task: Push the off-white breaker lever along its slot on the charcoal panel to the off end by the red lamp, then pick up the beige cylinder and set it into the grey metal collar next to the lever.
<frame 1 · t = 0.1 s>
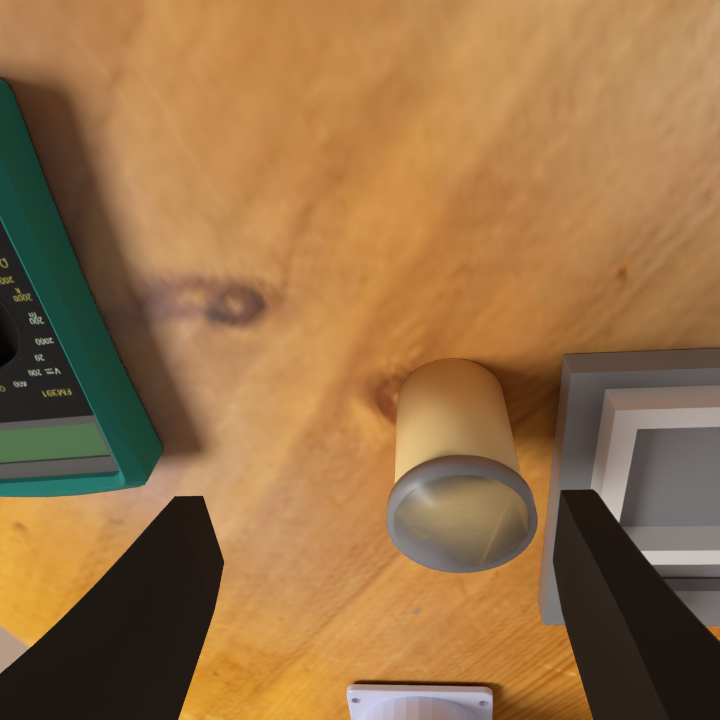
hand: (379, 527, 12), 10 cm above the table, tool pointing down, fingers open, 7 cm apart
beige cylinder: (450, 402, 23), on the table
digital multimeter: (15, 300, 22), on the table
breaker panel: (675, 494, 24), on the table
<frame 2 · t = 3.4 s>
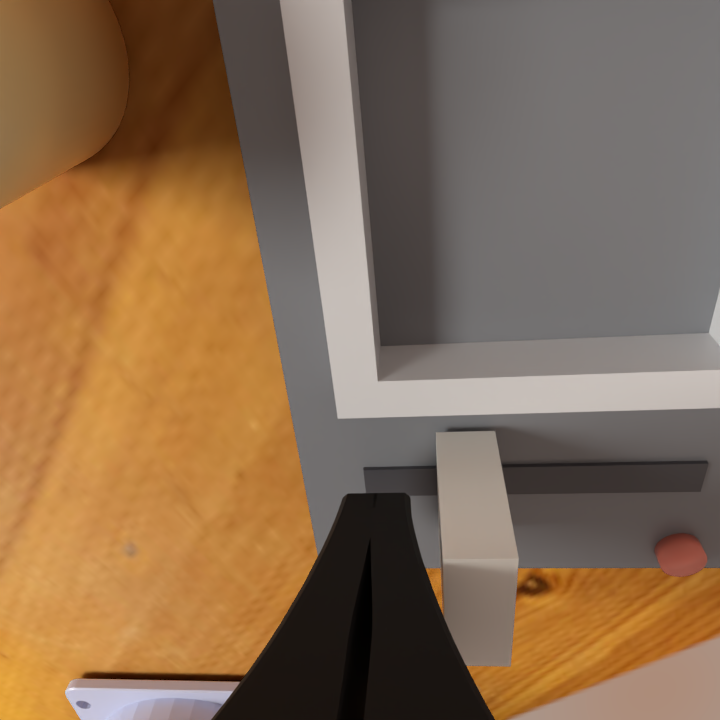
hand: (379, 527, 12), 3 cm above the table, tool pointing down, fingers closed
breaker lever: (471, 543, 12), point 3 cm above the table, slide at 1.1 cm, touching gripper
beige cylinder: (14, 51, 10), on the table
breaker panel: (530, 287, 12), on the table
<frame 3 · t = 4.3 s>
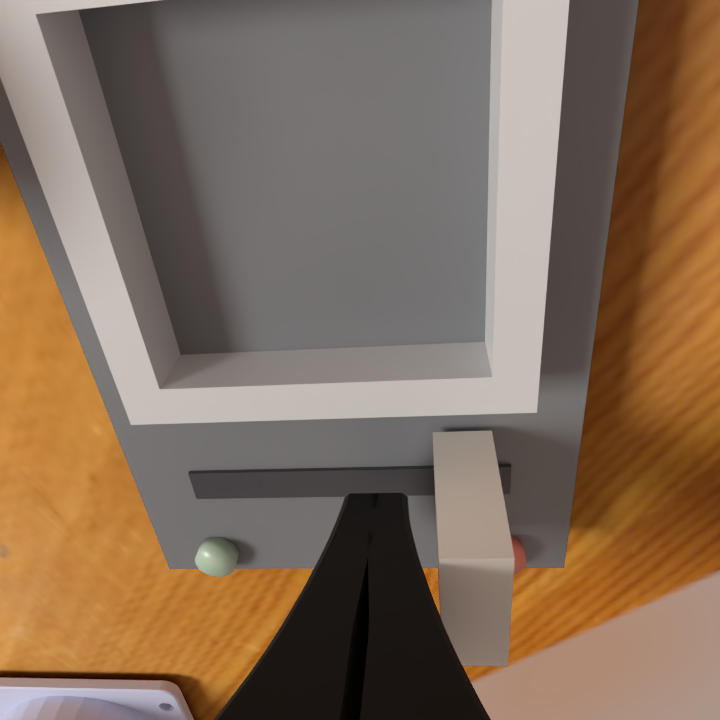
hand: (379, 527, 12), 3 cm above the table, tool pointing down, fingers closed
breaker lever: (468, 543, 12), point 3 cm above the table, slide at 5.1 cm, touching gripper
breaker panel: (332, 297, 12), on the table
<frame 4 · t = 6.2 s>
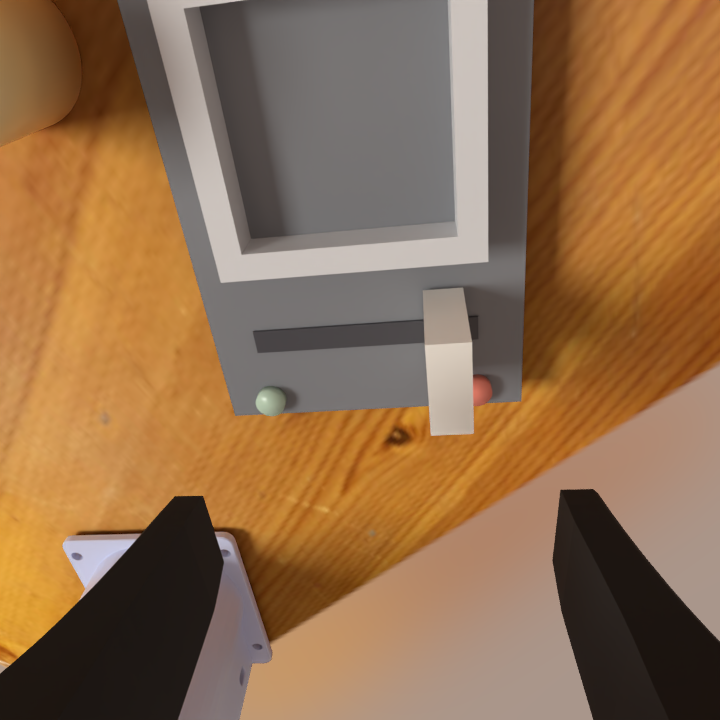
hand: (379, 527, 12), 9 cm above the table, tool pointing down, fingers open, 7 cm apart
breaker lever: (447, 359, 18), point 3 cm above the table, slide at 5.1 cm
beige cylinder: (10, 53, 17), on the table
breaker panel: (352, 200, 18), on the table
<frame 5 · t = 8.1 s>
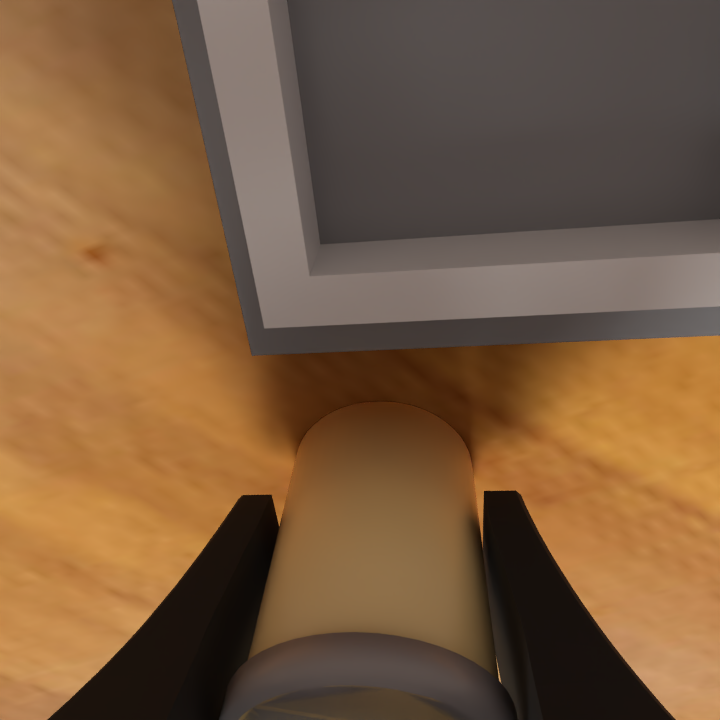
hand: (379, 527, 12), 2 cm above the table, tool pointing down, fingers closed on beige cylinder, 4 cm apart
beige cylinder: (383, 472, 14), on the table, touching gripper
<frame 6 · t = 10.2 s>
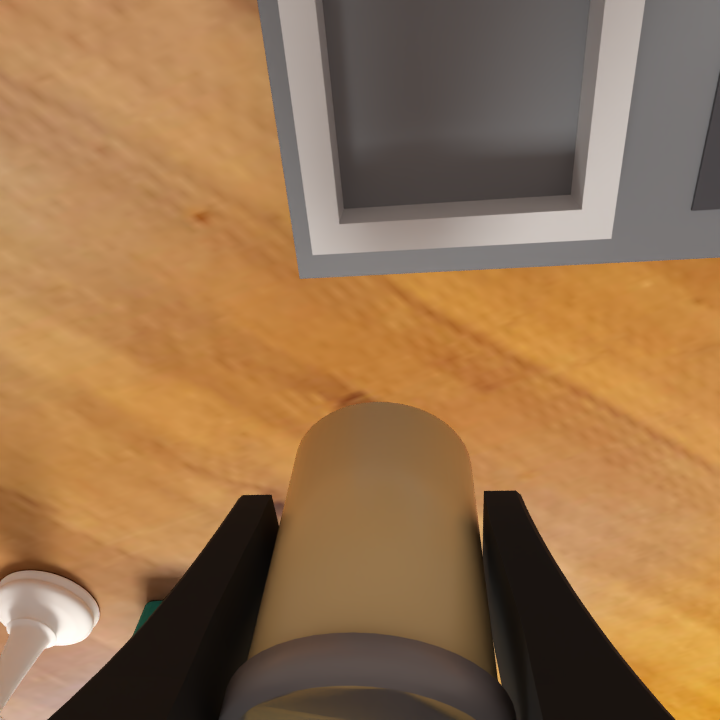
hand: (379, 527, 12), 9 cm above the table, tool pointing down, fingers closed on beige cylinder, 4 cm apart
chess piece: (51, 599, 29), on the table
beige cylinder: (382, 472, 14), point 7 cm above the table, touching gripper
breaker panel: (551, 64, 15), on the table
when the fingers open (4 cm above the table, at t = 12.4 s): beige cylinder stays where it is, resting on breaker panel.
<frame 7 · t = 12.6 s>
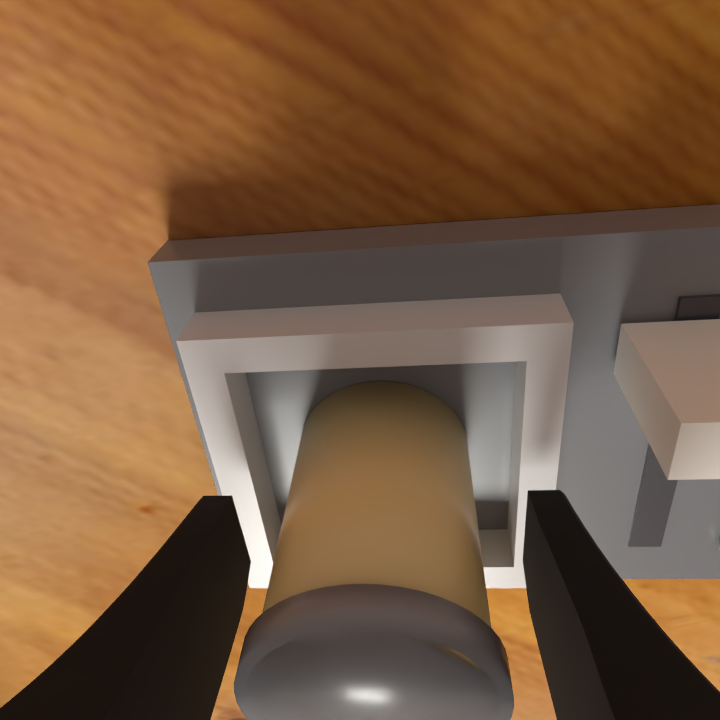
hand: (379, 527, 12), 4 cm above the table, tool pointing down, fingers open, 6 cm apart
beige cylinder: (383, 448, 15), point 1 cm above the table, touching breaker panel
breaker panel: (484, 410, 15), on the table
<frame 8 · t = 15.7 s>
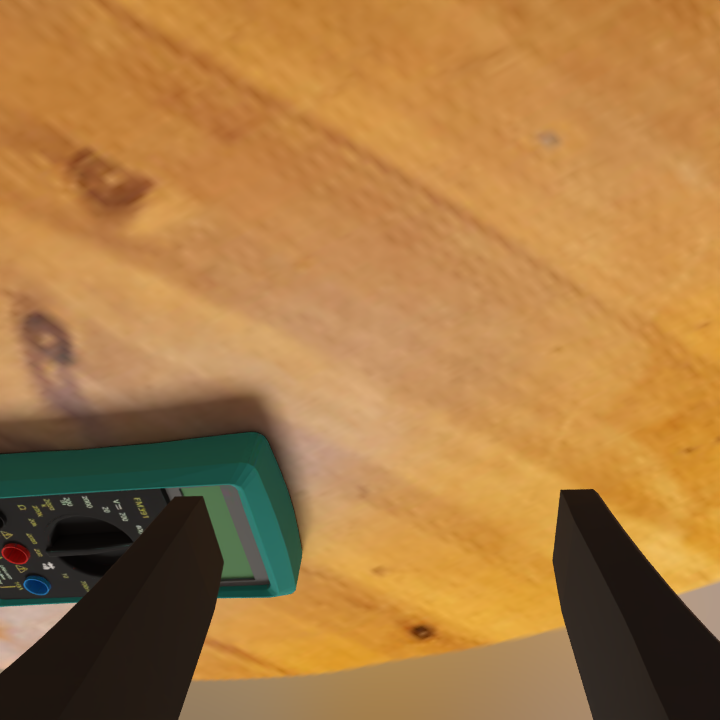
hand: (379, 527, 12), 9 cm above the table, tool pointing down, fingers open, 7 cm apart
digital multimeter: (130, 497, 27), on the table
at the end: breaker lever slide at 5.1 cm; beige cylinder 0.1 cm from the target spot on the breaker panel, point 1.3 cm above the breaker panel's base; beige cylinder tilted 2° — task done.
